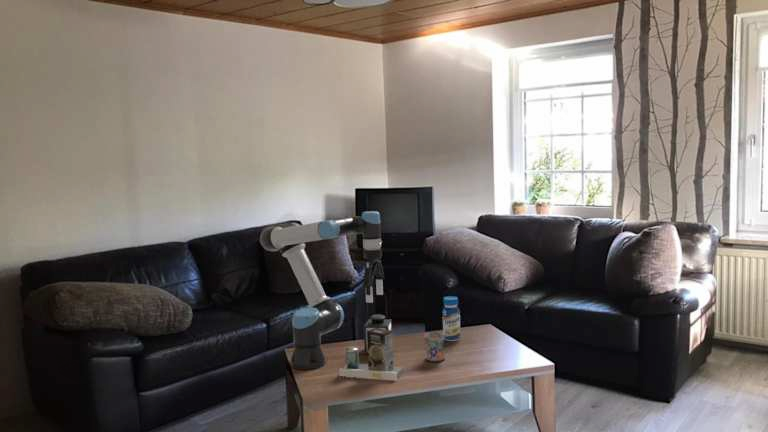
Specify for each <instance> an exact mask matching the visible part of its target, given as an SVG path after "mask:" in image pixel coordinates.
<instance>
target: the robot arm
mask: <svg viewBox="0 0 768 432" xmlns="http://www.w3.org/2000/svg"><path fill="white" fill-rule="evenodd" d="M354 234H355V235H362V248H363V258H364V259H366V260H367V262H365V263H364V274H363V283H362V287H363V288H365V290H364V291H365V303H367V304H369V303H371V304H373V302H374V296H373V293H374V292H373V286H372V283H373V279H374V275H375V278H376V279H375V286H376V287H375V292H376V295H377V296H378V295H379V296H383V295H384V290H383V289H384V286H383V285H384V284H383V283H384V282H383V280H385V273H384V268H383V265H382V256H383V255H382V254H383V253H382V248H381V247H382V244H383V241H382V235H381V216H380V212H379V211H375V210H371V211H363V212H361V216H359V215H358V216H356V215H341V216H340V217H338V218H333V219H327V220H322V221H316V222H311V223H306V224H304V223H303V224H298V223H296V222H285V223H281V224H275V225H274V224H273V225H269V226H267V227H265V228H264V229H263V230H262V232H261V233H260V236H259V242H260V245H261V246H262V247H263V249H264V250H266V251H269V252H278V251H279V252H280V253H281V256H282V257H284V258H286V259H287V260H288V263H289V265H290V267H291V269H292V271H293V274H294V276H295V277H296V279H297V282H298V283H299V286H300V288H301V289H302V292H303V294H304V296H305V299H306V301H307V303H308V307H305V308H301V309H298V310H296V311H295V312H294V313H293V314H292V318H291V319H292V321H291V325H292V337H293V339H292V340H293V350H292V354H291V358H290V367H291V368H293V369H295V368H296V370H301V369H308V370H314V369H313V368H315V369H318V367H319V368H321V367H323V366H325V365H326V364H325V363H327V359H326V358H327V357H326V353H325V351H324V349H323V346H322V339H321V337H322V336H323V335H326V334H328V333H331V332H334V331H336V330H337V329H339V328H340V327H341V326H342V325H343V323H344V319H345V312H344V309H343V308H342V306H341V305H340V304H338V303H336V302H333V299H332V297H330V296H327V295H326V293H325V292H326V291H324V288H323V285H322V284H321V282H320V280H319V277H318V276H317V273H316V272H315V270H314V267H313V265H312V263H311V261H310V258H309V257H308V255H307V253H306V251H305V248H306V243H310V242H317V241H322V240H332V239H335V238H339V237H344V236H349V235H354ZM372 292H373V293H372ZM324 364H325V365H324ZM320 366H321V367H320Z"/></svg>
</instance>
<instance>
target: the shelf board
mask: <svg viewBox="0 0 768 432" xmlns="http://www.w3.org/2000/svg"><path fill="white" fill-rule="evenodd" d="M338 369H339V371H338V372H339V374H338V375H339V377H341V376H343V377H344V376H345V378H354V377H356V379H368V380H382V381H383V380H384V381H396V382H397V381H398V379H399V378H400V377H401V376H402V374H403V373H404V367H402V366H394V369H393V370H391V371H389V372H387V371H375V370H370V369H369V368H368V364H362V363H359V368H358V369H347V364H345V366H344V367H343V368H342V367H340V368H338ZM343 377H342V378H343Z"/></svg>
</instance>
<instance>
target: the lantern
mask: <svg viewBox="0 0 768 432" xmlns="http://www.w3.org/2000/svg"><path fill="white" fill-rule="evenodd" d="M375 292H376V290H374V291H372V293H375ZM383 295H384V297H385V299H387V296H386V294H385V293H383ZM385 303H386V305H385V306H386V307H385V308H386V313H385V315H386V316H385V315H383V314H373V315H371V316H370V317H369V318H367V321H366V322H365V324H364V325H363V341H364V356H368V344H367V331H368V330H370V329H374V328H381V329H386V330H392V331H393V324H392V323H393V322H392V319H391V318H390V319H388V318H386V317H388V305H387V304H388V301H387V300H385ZM368 307H369V304H367V311H366V312H367V314H369V310H368V309H369V308H368Z"/></svg>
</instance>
